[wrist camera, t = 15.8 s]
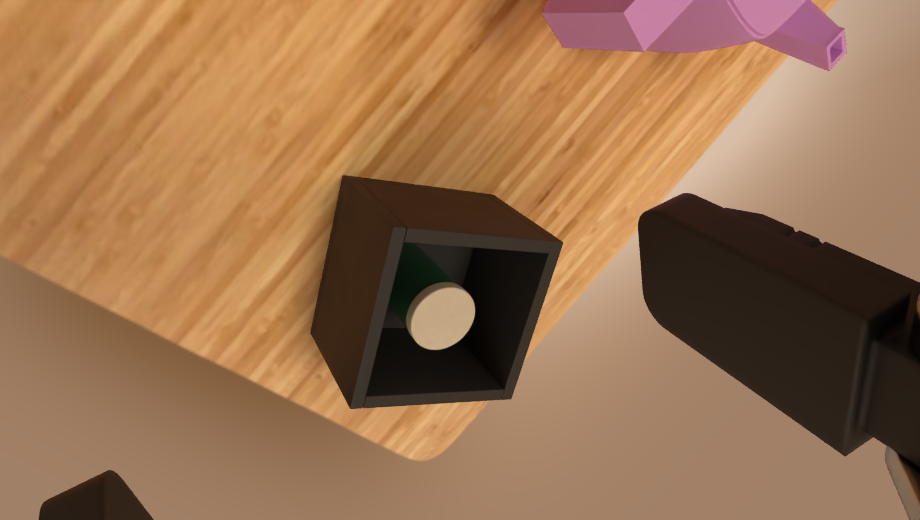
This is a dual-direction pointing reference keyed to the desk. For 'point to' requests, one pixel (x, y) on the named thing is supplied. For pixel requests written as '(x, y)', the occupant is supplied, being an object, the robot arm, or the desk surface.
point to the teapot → (698, 26)
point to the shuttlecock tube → (429, 301)
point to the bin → (462, 258)
